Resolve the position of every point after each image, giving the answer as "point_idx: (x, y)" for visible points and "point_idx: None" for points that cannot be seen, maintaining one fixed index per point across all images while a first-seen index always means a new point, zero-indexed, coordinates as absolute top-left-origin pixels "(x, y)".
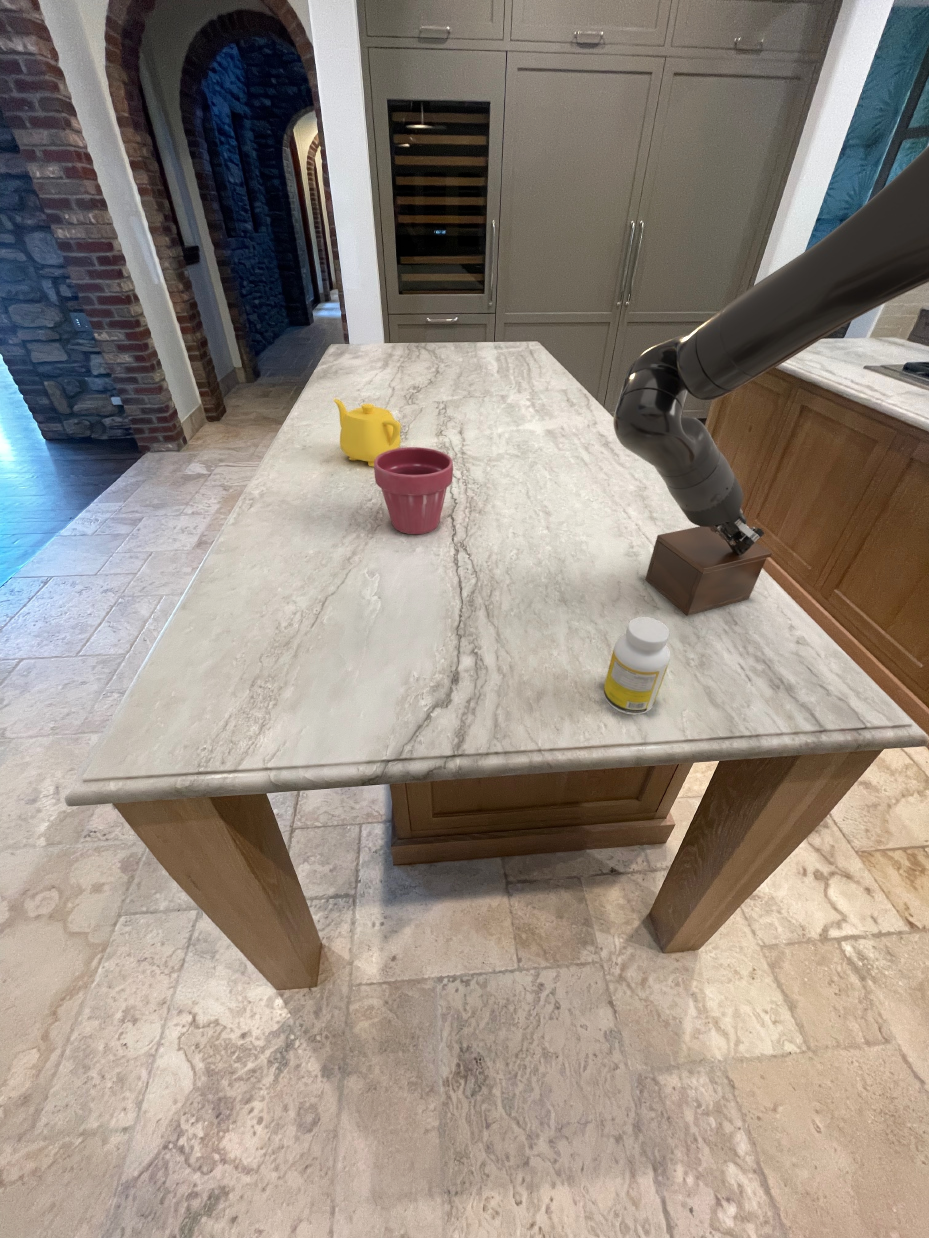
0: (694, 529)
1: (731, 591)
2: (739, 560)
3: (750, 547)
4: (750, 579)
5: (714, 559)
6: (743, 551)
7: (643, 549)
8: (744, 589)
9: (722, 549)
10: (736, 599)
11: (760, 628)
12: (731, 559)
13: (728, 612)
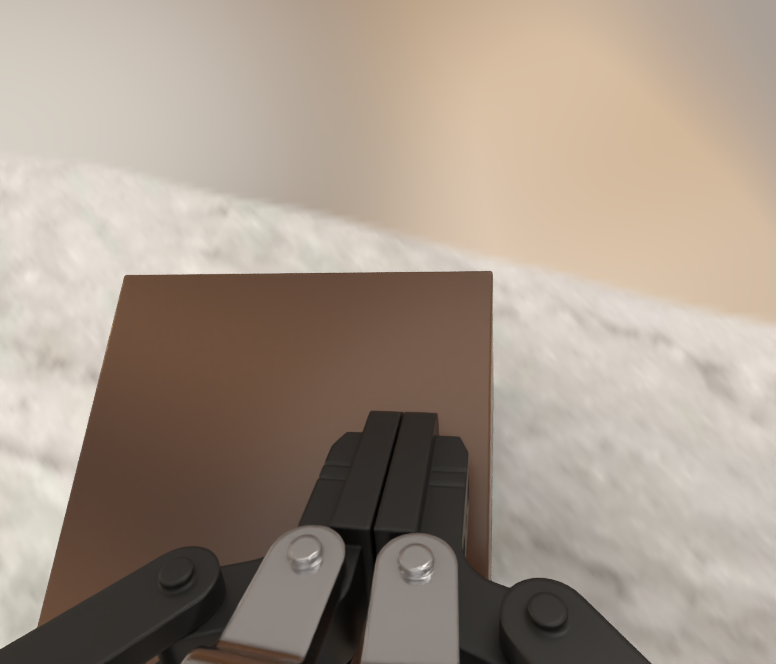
0: (87, 506)
1: (491, 510)
2: (487, 545)
3: (460, 439)
4: (492, 400)
5: None
6: (468, 513)
7: (31, 521)
8: (492, 423)
9: None
10: (492, 456)
11: (680, 504)
12: None
13: (536, 543)
